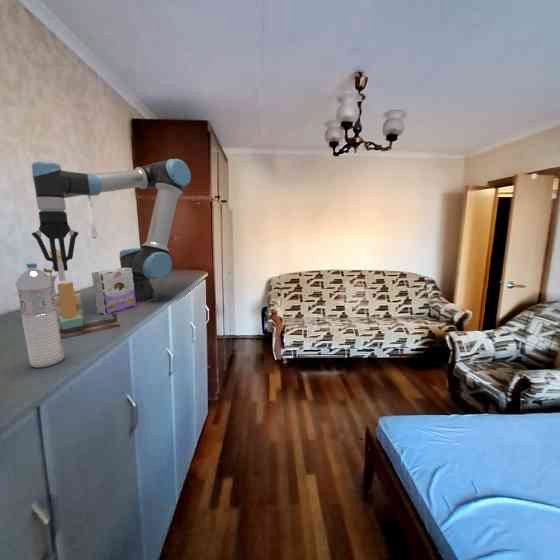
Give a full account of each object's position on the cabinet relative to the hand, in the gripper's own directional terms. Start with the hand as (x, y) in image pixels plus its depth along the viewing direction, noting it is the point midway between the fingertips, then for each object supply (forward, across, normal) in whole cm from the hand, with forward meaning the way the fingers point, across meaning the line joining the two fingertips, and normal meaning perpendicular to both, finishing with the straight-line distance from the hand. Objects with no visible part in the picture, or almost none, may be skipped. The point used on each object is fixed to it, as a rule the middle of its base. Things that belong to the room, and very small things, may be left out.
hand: (62, 280), depth 106 cm
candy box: (+15, -17, -5) cm, 24 cm away
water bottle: (+15, +9, +36) cm, 40 cm away
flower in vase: (+15, +1, -26) cm, 30 cm away
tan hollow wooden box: (+15, 0, 0) cm, 15 cm away
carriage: (+12, +1, +15) cm, 19 cm away
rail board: (+15, -3, +15) cm, 21 cm away
